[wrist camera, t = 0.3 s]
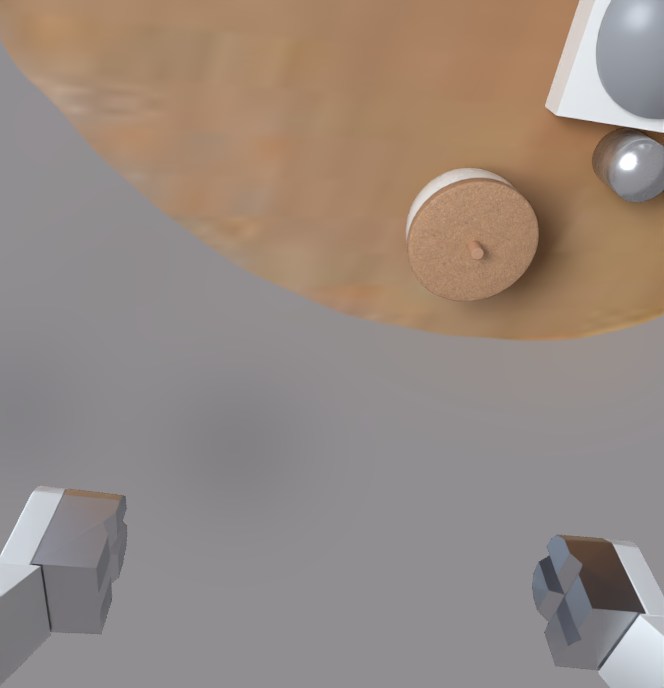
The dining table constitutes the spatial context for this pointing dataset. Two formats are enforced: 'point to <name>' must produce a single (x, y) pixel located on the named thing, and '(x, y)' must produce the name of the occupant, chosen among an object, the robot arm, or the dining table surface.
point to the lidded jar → (470, 235)
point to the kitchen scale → (613, 65)
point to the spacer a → (630, 164)
